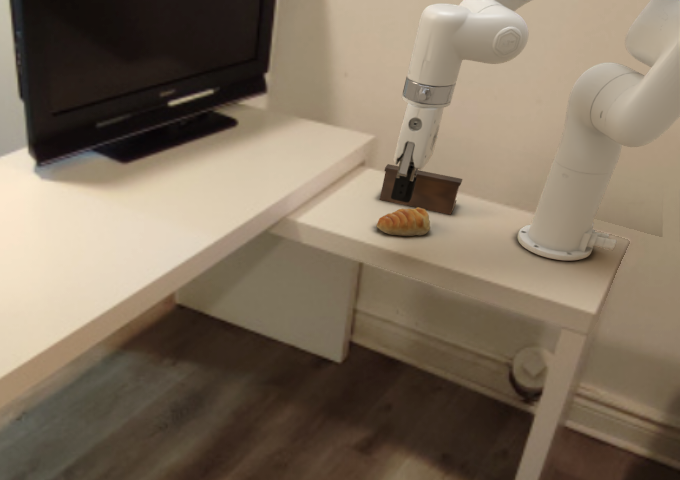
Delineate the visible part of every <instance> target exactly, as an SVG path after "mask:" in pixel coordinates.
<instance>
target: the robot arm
mask: <svg viewBox="0 0 680 480" xmlns="http://www.w3.org/2000/svg"><path fill="white" fill-rule="evenodd" d="M532 1H533V0H462V1H461V2H460V3H459V4H454V3H433V4H429V5H427V6H426V7H425V8H424V9H423V10H422V12H421V14H420V18H419V22H418V26H417V30H416V35H415V39H414V43H413V48H412V52H411V56H410V61H409V65H408V69H407V74H406V77H405V81H404V86H403V89H402V94H401V99H402V101H404V102H405V103H407V104H406V107H405V111H404V115H403V118H402V122H401V125H400V131H399V134H398V138H397V142H396V147H395V151H394V156H393V162H394V164H395V166H399V168H398V172H397V176H396V178H395V182H394V186H393V190H392V194H391V199H394V200H398V201H402V202H407V203H408V202H409V201H410V200H411V198H412V195H413V191H414V187H415V183H416V179H417V178H416V175H417V173H418V170H420V171H422V170H423V169H424V168H425V167H426V165H427V164H428V162H429V161H430V159H431V158H432V156H433V154H434V151H435V148H436V143H437V139H438V135H439V130H440V126H441V122H442V118H443V114H444V108H446V107H449V106H450V105H451V103H452V100H453V97H454V92H455V88H456V85H457V81H458V77H459V73H460V70H461V67H462V62H463V61H465V60H466V61H472V62H477V63H482V64H489V65H499V64H500V65H501V64H504V63H508V62H510V61H512V60H513V59H515V58H516V57H518V56H519V55H520V54H521V53H522V52H523V50H524V49H525V48H526V46H527V43H528V40H529V32H530V31H529V27H528V24H527V22H526V21H525V19H524V18H523V16H521V15H520V14H519V13H518V12H516V11H517V10H518V9H520V8H522V7H523V6H524V5H526V4H528V3H530V2H532ZM624 46H625V49H626V51H627V53H628V54H629V55H630V56H631V57H632V58H634V59H635V60H636V61H638V62H640V63H642V64H644V65H646V66H648V67H649V68H650V69H648V71H647V73H646V74H642V73H641V72H639V71H636V70H635V69H633V68H631V67H629V66H627V65H624V64H621V63H617V62H610V61H609V62H601V63H597V64H595V65H593V66H591V67H589V68H588V69H586V70H585V71H584V72H582V73H581V74H580V75H579V77H578V78H577V79H576V81H574V84H573V85H572V88H571V90H570V94H569V96H568V101H567V106H566V112H565V120H564V124H563V129H562V132H561V137H560V140H559V143H558V146H557V149H556V152H555V154H554V157H553V160H552V162H551V166H550V169H549V171H548V174H547V177H546V180H545V183H544V186H543V189H542V191H541V195H540V197H539V199H538V203H537V205H536V208H535V211H534V215H533V217H532V220H531V223H530V224H526V225H524V226H523V227H521V228H520V229H519V231H518V233H517V241H518V243H519V244H520V245H521V246H522V247H523V248H525V250H527V251H529V252H531V253H532V254H535V255H537V256H540V257H543V258H547V259H552V260H557V261H578V260H584V259H585V258H588V257H589V256H590V255H591V254H592V251H593V249H594V247H595V248H601V249H604V250H608V251H614V249H615V247H616V244H617V239H614V238H610V233H605V232H600V231H596V229H595V228H594V224H595V222H594V221H595V219H596V217H597V214H598V211H599V209H600V206H601V204H602V201H603V198H604V196H605V193H606V191H607V188H608V186H609V183H610V181H611V180H612V176H613V174H614V171H615V169H616V167H617V164H618V162H619V159H620V155H621V152H622V148H623V147H626V148H627V147H628V148H640V147H644V146H647V145H649V144H651V143H653V142H654V141H656V140H657V139H659V138H660V137H661V136H662V135H664V134H665V133H666V132H667V131H668V130H669V129H670V128H671V127H672V126H673V125H674V124H675V122H677V120H678V119H680V0H649V1H648V3H647V4H646V5H645V6H644V8H643V9H642V10H641V12H639V14H638V15H637V17H636V18H635V19H634V21H633V22H632V23H631V25H630V26H629V28H628V30H627V31H626V34H625V38H624Z"/></svg>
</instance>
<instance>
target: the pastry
mask: <svg viewBox="0 0 680 480" xmlns="http://www.w3.org/2000/svg"><path fill="white" fill-rule="evenodd" d="M376 227H377V229H379V230H380V231H381V232H383V233H385V234H387V235H391V236H400V237H402V236H403V237H404V236H406V237H415V236H424V235H426V234H427V233H429V232H430V231H431V221H430V215H429V213H428V210H426V209H422V208H419V207H415V208H399V209H397V210H395V211H393V212H389V213H387V214H385V215H383V216H381V217H379V218H378V220H377V223H376Z"/></svg>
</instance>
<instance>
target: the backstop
mask: <svg viewBox="0 0 680 480" xmlns="http://www.w3.org/2000/svg"><path fill="white" fill-rule="evenodd" d="M398 168H399V165H396V164H395V165H394V164H390V163H387V164H386V166H385V167H384V177H383V182H382V186H381V191H380V196H379V200H381V201H386V202H390V203H394V204H399V205H404V206H408V207H412V208H417V207H419V208H421V209H425V210H426V211H431V212H435V213H442V214H445V215H452V213H453V211H454V209H455V207H456V204H457V196H458V193H459V189H460V187H461V185H462V182H463V178H459V177H454V176H450V175H445V174H441V173H440V174H439V173H435V172H429V171H424V170H419V169H418V173H417V175H416V178H417V179H416V183H415V187H414V191H413V195H412V198H411V200H410V201H409V202H408V203H407V202H402V201H398V200H394V199H391V194H392V190H393V186H394V182H395V178H396V176H397V172H398Z"/></svg>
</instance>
